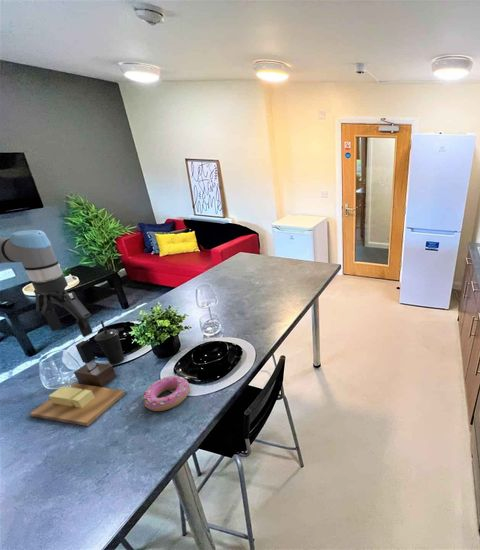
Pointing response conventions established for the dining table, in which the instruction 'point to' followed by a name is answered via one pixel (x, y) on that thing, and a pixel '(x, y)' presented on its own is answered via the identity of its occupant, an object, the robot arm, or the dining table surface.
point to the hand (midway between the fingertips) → (72, 331)
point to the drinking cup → (110, 344)
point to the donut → (168, 401)
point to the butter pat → (83, 398)
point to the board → (80, 415)
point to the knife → (86, 355)
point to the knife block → (95, 375)
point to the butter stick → (64, 395)
